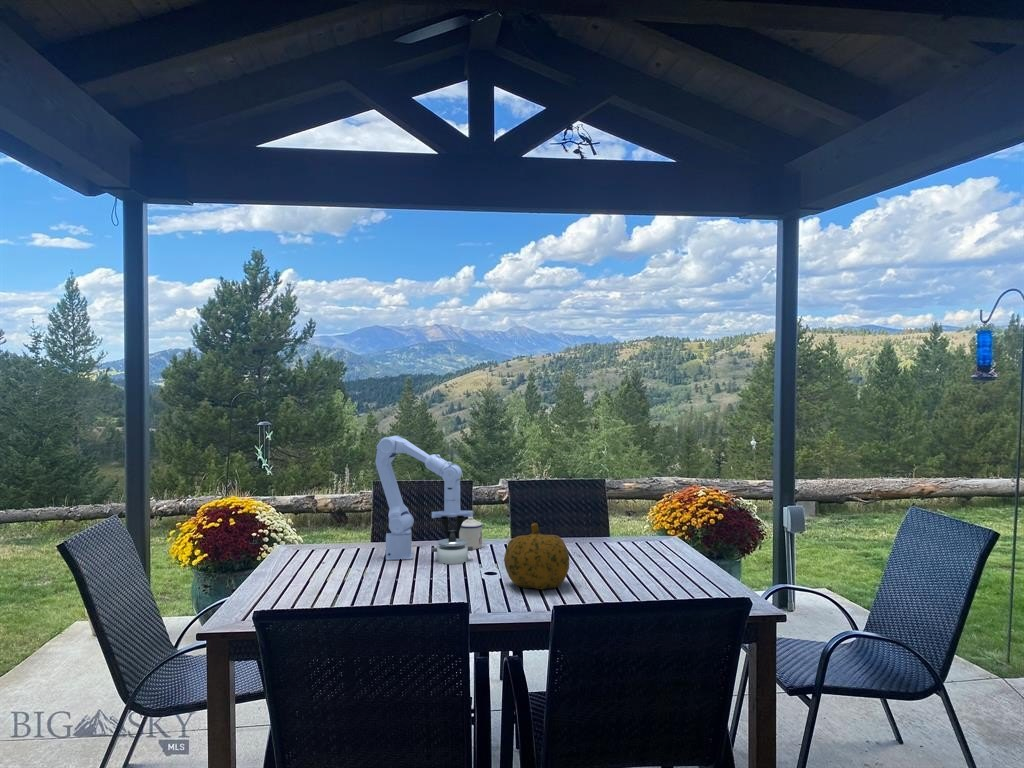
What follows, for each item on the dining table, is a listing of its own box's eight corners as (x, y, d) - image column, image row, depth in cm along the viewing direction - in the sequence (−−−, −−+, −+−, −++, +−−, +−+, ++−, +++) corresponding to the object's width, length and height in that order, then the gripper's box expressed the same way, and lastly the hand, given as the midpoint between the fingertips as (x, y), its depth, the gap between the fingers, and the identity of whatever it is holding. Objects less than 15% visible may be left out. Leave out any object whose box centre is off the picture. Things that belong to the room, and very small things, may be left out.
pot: (432, 565, 254) (432, 550, 254) (431, 557, 265) (431, 543, 265) (474, 563, 256) (474, 549, 256) (471, 556, 267) (471, 542, 267)
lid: (437, 546, 255) (436, 533, 255) (439, 541, 265) (439, 529, 265) (465, 546, 255) (465, 533, 255) (467, 541, 265) (467, 528, 265)
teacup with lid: (484, 549, 278) (484, 518, 278) (461, 550, 275) (461, 519, 275) (477, 542, 289) (477, 512, 289) (455, 543, 287) (455, 514, 287)
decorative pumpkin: (553, 596, 214) (550, 527, 216) (494, 591, 226) (491, 526, 227) (584, 583, 231) (580, 519, 233) (527, 579, 243) (524, 518, 244)
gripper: (432, 501, 255) (432, 540, 255) (473, 500, 257) (473, 539, 257) (431, 498, 262) (431, 536, 262) (471, 497, 264) (471, 534, 264)
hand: (452, 537), depth 260 cm, fingers closed on lid, 3 cm apart
